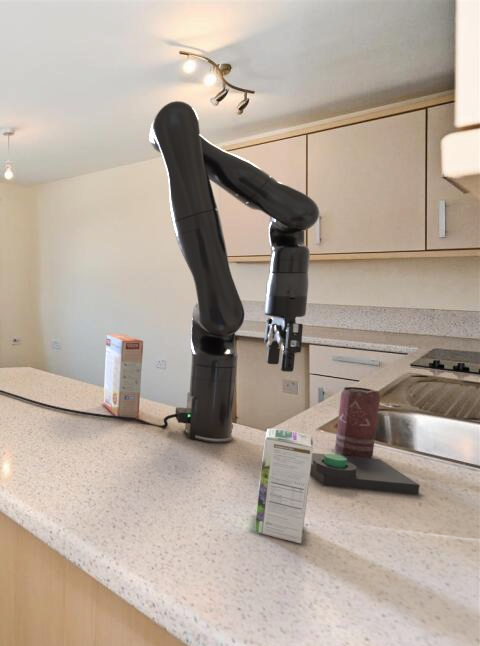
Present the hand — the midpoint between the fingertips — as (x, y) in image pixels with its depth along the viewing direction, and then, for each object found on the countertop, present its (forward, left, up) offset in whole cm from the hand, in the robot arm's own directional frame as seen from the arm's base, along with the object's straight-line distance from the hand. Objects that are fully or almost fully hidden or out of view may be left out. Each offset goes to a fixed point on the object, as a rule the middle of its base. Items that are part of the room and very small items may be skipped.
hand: (279, 367), depth 103 cm
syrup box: (-12, -42, -17) cm, 47 cm away
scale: (+8, -17, -17) cm, 25 cm away
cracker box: (-32, +16, -17) cm, 40 cm away
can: (+14, -4, -17) cm, 23 cm away
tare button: (+3, -21, -14) cm, 25 cm away
